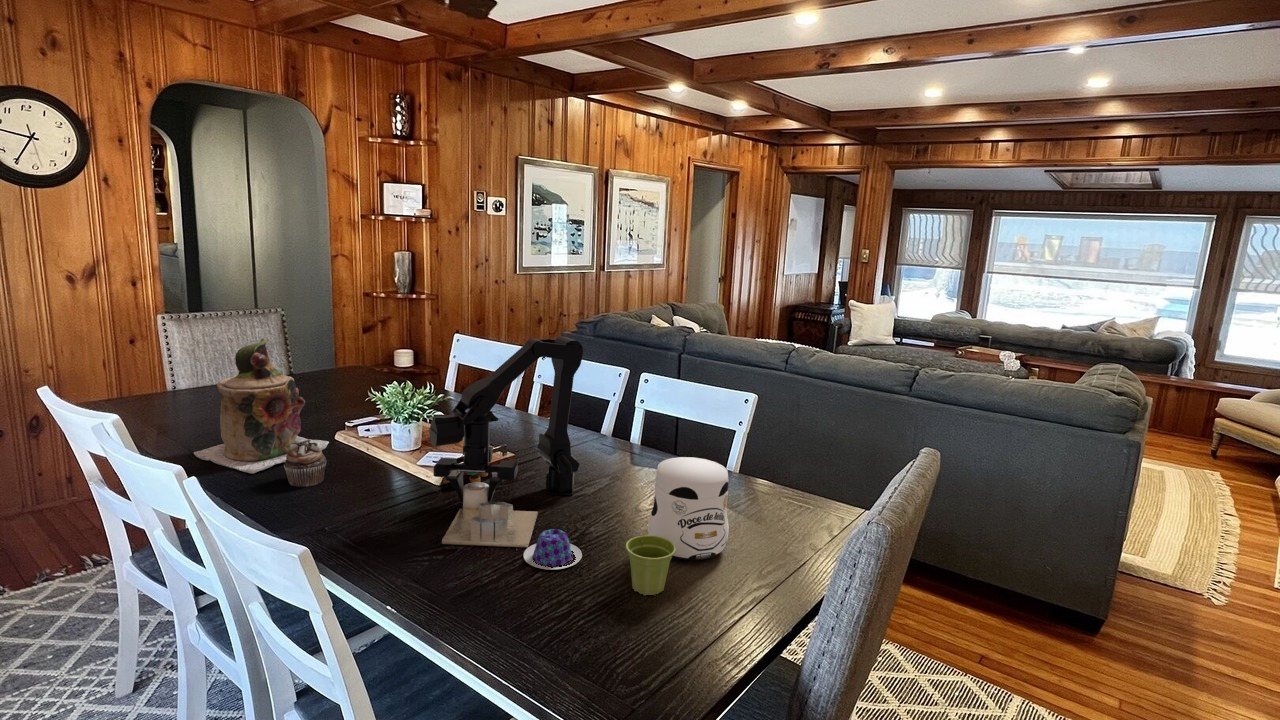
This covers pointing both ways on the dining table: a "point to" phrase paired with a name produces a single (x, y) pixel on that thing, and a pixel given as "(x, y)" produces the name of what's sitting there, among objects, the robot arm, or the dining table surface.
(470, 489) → the cap
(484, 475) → the binoculars
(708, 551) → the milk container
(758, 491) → the dining table surface
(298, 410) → the cookie jar
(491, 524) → the wooden board
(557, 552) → the pudding
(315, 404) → the dining table surface
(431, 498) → the dining table surface
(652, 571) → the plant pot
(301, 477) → the cupcake
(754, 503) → the dining table surface
